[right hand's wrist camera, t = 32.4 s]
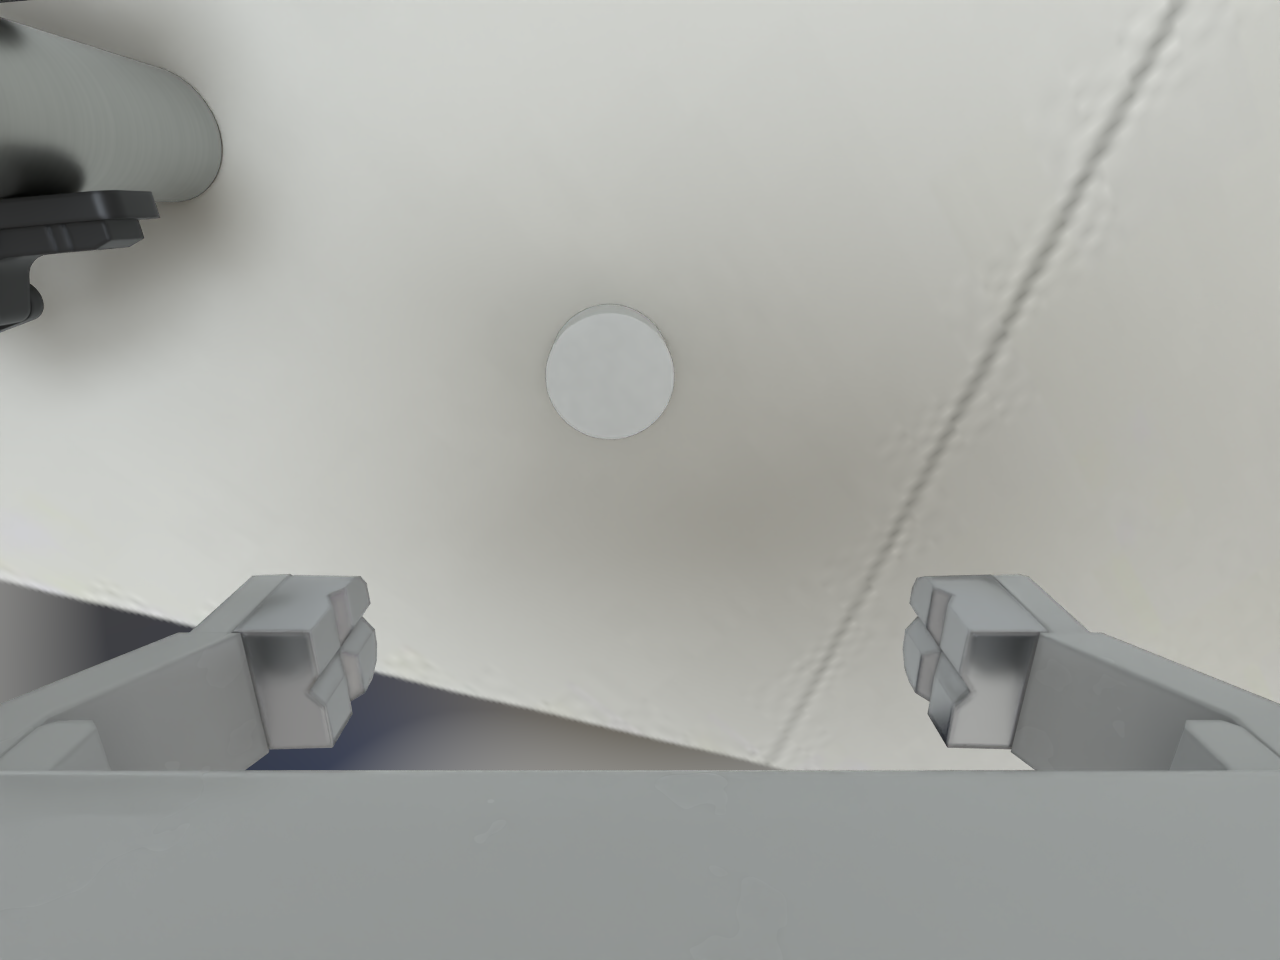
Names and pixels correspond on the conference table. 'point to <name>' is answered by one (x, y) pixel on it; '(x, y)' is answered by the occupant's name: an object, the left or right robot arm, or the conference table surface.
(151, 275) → the conference table surface
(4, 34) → the grey cylinder
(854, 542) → the conference table surface
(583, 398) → the lid
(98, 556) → the conference table surface
